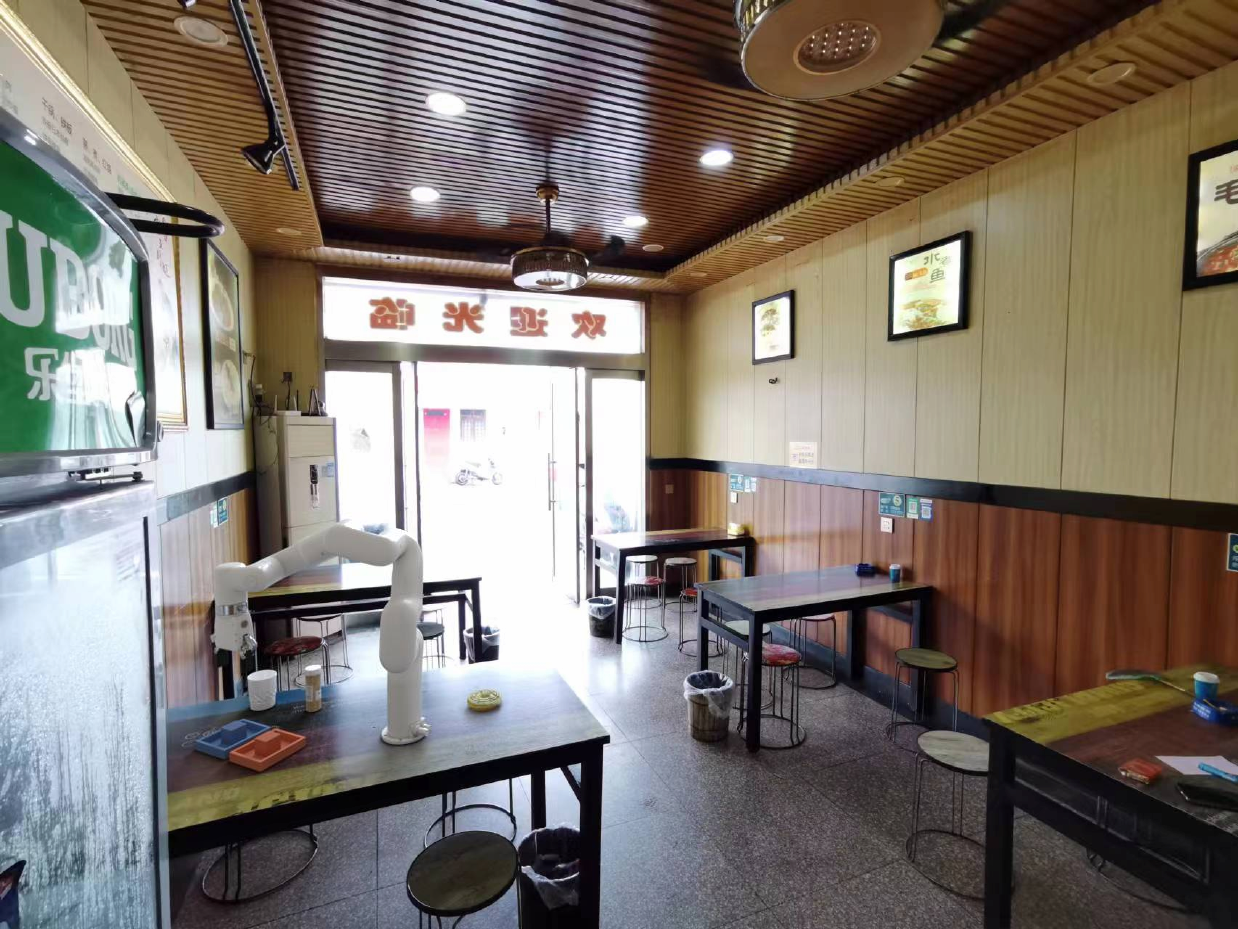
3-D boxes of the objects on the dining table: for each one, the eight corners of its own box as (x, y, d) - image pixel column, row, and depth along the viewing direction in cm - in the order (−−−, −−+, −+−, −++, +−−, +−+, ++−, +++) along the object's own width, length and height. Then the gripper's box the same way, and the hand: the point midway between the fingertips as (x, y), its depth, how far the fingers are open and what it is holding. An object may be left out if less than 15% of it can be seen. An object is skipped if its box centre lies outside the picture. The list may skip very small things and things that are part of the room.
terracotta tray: (305, 745, 165) (305, 737, 165) (260, 771, 153) (260, 762, 152) (276, 736, 169) (276, 728, 169) (229, 761, 157) (229, 752, 157)
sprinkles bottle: (323, 709, 186) (323, 667, 185) (307, 714, 183) (307, 671, 182) (318, 704, 189) (318, 663, 188) (303, 708, 186) (302, 666, 185)
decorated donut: (506, 708, 190) (507, 696, 189) (474, 716, 184) (474, 705, 183) (494, 695, 198) (494, 684, 198) (462, 703, 192) (463, 691, 192)
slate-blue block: (247, 738, 167) (246, 723, 167) (231, 746, 163) (231, 730, 163) (236, 735, 169) (235, 720, 169) (220, 742, 165) (220, 727, 164)
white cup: (282, 703, 189) (282, 672, 189) (258, 714, 182) (258, 682, 181) (266, 698, 193) (265, 668, 192) (242, 708, 185) (241, 677, 185)
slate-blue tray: (271, 735, 170) (271, 726, 170) (224, 759, 158) (224, 750, 157) (243, 726, 174) (243, 718, 174) (195, 749, 162) (195, 741, 162)
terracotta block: (281, 749, 162) (280, 733, 162) (266, 757, 158) (265, 741, 158) (269, 746, 164) (269, 730, 163) (254, 754, 160) (254, 738, 159)
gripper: (266, 608, 164) (269, 668, 165) (224, 600, 170) (226, 659, 171) (240, 616, 157) (243, 679, 158) (197, 608, 163) (199, 669, 164)
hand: (234, 668), depth 165 cm, fingers open, 9 cm apart
